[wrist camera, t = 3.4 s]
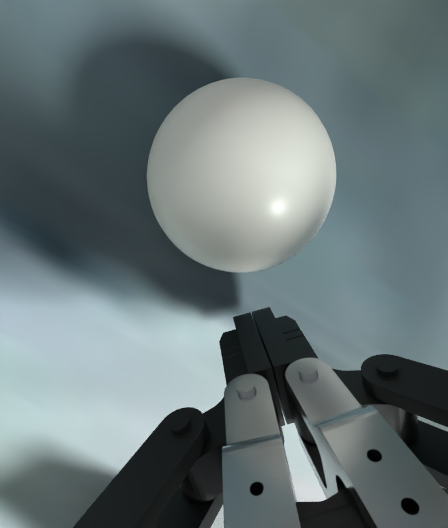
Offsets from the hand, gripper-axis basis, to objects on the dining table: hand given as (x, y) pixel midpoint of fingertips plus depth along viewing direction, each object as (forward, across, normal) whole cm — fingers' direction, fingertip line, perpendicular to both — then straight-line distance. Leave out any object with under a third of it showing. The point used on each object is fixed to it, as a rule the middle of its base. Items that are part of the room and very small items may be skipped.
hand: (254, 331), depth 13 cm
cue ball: (-1, -1, -6) cm, 6 cm away
